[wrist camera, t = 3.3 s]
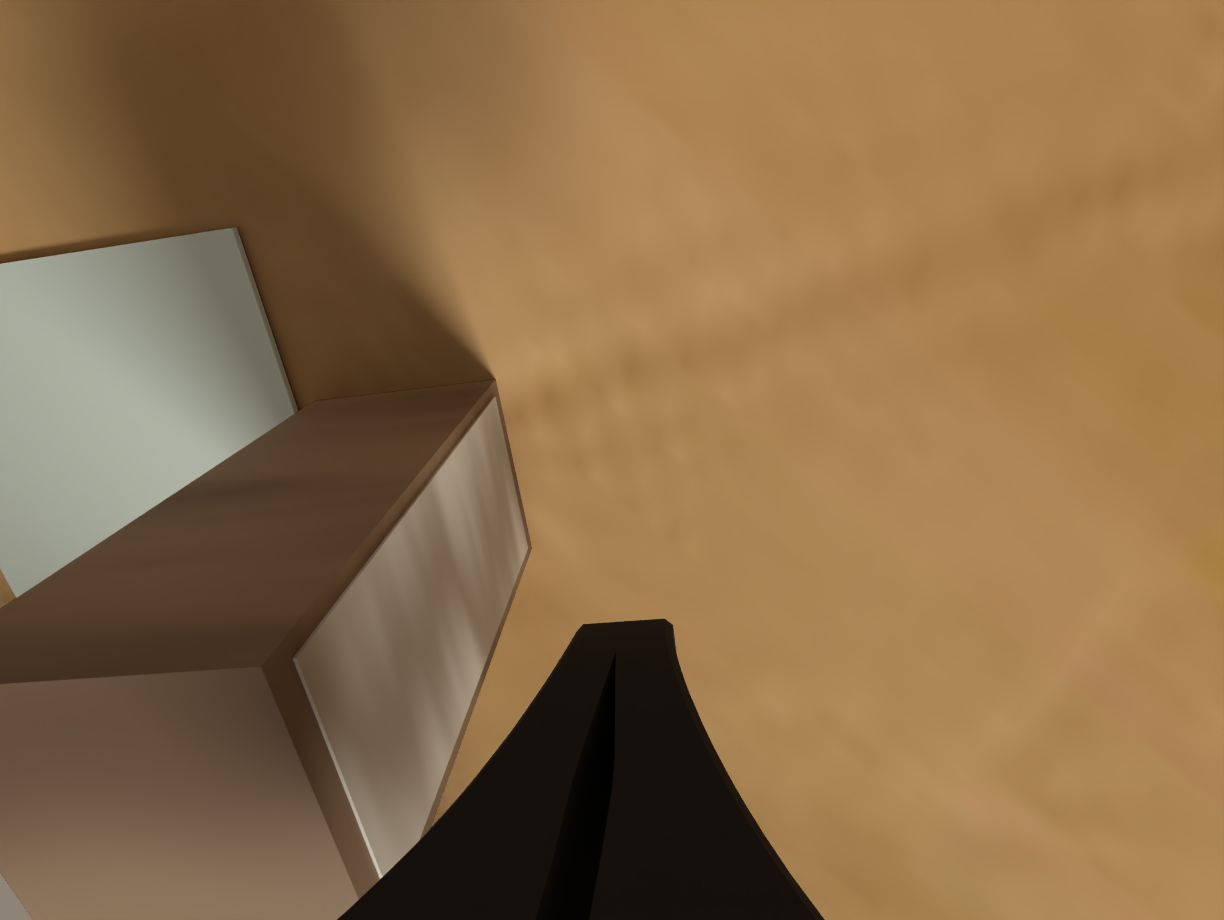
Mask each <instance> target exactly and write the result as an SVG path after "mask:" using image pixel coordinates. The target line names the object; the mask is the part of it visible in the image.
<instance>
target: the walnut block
mask: <svg viewBox="0 0 1224 920" xmlns="http://www.w3.org/2000/svg"><path fill="white" fill-rule="evenodd" d="M531 549H532V547H531V542H530V537H529V533H528V528H527V523H526V519H525V514H524V510H523V505H522V500H521V496H520V491H519V486H518V482H517V477H516V472H515V468H514V463H513V458H512V454H511V449H510V444H509V440H508V435H507V431H506V426H505V421H504V417H503V412H502V407H501V403H500V398H499V393H498V389H497V384H496V379H495V380H486V381H478V382H470V383H461V384H453V385H444V386H436V387H428V388H419V389H411V390H402V391H394V392H386V393H377V394H369V395H360V396H352V397H344V398H335V399H327V400H318V401H313V402H312V403H310V404H309V405H307V406H306V407H304V408H303V409H301V410H299V411H298V412H296V413H295V414H293V415H292V416H290V417H289V418H287V419H286V420H284V421H283V422H281V423H280V424H278V425H277V426H275V427H274V428H272V429H271V430H269V431H268V432H266V433H265V434H263V435H262V436H260V437H259V438H257V439H256V440H254V441H253V442H251V443H250V444H248V445H247V446H245V447H244V448H242V449H241V450H239V451H238V452H236V453H235V454H233V455H232V456H230V457H229V458H227V459H225V460H224V461H222V462H221V463H219V464H218V465H216V466H215V467H213V468H212V469H210V470H209V471H207V472H206V473H204V474H203V475H201V476H200V477H198V478H197V479H195V480H194V481H192V482H191V483H189V484H188V485H186V486H185V487H183V488H182V489H180V490H179V491H177V492H176V493H174V494H173V495H171V496H170V497H168V498H167V499H165V500H164V501H162V502H161V503H159V504H158V505H156V506H154V507H153V508H151V509H150V510H148V511H147V512H145V513H144V514H142V515H141V516H139V517H138V518H136V519H135V520H133V521H132V522H130V523H129V524H127V525H126V526H124V527H123V528H121V529H120V530H118V531H117V532H115V533H114V534H112V535H111V536H109V537H108V538H106V539H105V540H103V541H102V542H100V543H99V544H97V545H96V546H94V547H93V548H91V549H90V550H88V551H87V552H85V553H84V554H82V555H80V556H79V557H77V558H76V559H74V560H73V561H71V562H70V563H68V564H67V565H65V566H64V567H62V568H61V569H59V570H58V571H56V572H55V573H53V574H52V575H50V576H49V577H47V578H46V579H44V580H43V581H41V582H40V583H38V584H37V585H35V586H34V587H32V588H31V589H29V590H28V591H26V592H25V593H23V594H22V595H20V596H19V597H17V598H16V599H14V600H13V601H11V602H9V603H8V604H6V605H5V606H3V607H2V608H0V874H1V875H2V877H3V878H4V879H5V881H6V882H7V884H8V885H9V887H10V888H11V889H12V890H13V892H14V893H15V895H16V896H17V898H18V899H19V901H20V902H21V904H22V905H23V906H24V908H25V909H26V911H27V912H28V913H29V915H30V916H31V918H32V919H33V920H337V919H338V918H339V917H340V916H341V915H343V914H344V913H345V912H346V911H347V910H348V909H349V908H350V907H352V906H353V905H354V904H355V903H356V902H357V901H358V900H359V899H360V898H361V897H362V896H363V895H364V894H365V893H366V892H367V891H368V890H369V889H370V888H372V887H373V886H374V885H375V884H376V883H377V882H378V881H379V880H380V879H381V878H382V877H383V876H384V875H385V874H386V873H387V872H388V871H389V870H390V869H391V868H392V867H393V866H394V865H395V864H396V863H397V862H398V861H399V860H400V859H401V858H402V857H403V856H404V855H405V854H406V853H407V852H408V851H409V850H410V849H411V848H412V847H413V846H414V845H415V844H416V843H417V842H418V841H419V840H420V839H421V838H422V837H423V836H424V835H425V834H426V833H427V832H428V831H429V830H430V828H431V825H432V822H433V819H434V817H435V814H436V811H437V808H438V806H439V803H440V800H441V797H442V795H443V792H444V789H445V786H446V783H447V781H448V778H449V775H450V772H451V770H452V767H453V764H454V761H455V759H456V756H457V753H458V750H459V748H460V745H461V742H462V739H463V737H464V734H465V731H466V728H467V726H468V723H469V720H470V717H471V715H472V712H473V709H474V706H475V704H476V701H477V698H478V695H479V692H480V690H481V687H482V684H483V681H484V679H485V676H486V673H487V670H488V668H489V665H490V662H491V659H492V657H493V654H494V651H495V648H496V646H497V643H498V640H499V637H500V635H501V632H502V629H503V626H504V624H505V621H506V618H507V615H508V613H509V610H510V607H511V604H512V601H513V599H514V596H515V593H516V590H517V588H518V585H519V582H520V579H521V577H522V574H523V571H524V568H525V566H526V563H527V560H528V557H529V555H530V552H531Z"/></svg>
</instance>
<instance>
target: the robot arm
mask: <svg viewBox="0 0 1224 920" xmlns="http://www.w3.org/2000/svg"><path fill="white" fill-rule="evenodd" d="M337 920H824V918H823V917H822V916H821V914H820V913H819V912H818V910H817V909H816V908H815V906H814V905H813V904H812V902H811V901H810V900H809V898H808V897H807V896H806V894H805V893H804V892H803V890H802V889H801V888H800V886H799V885H798V883H797V882H796V881H795V879H794V878H793V877H792V875H791V874H790V873H789V871H788V870H787V868H786V867H785V865H784V864H783V862H782V861H781V859H780V858H779V856H778V855H777V853H776V852H775V850H774V849H773V847H772V846H771V844H770V843H769V841H768V840H767V838H766V837H765V835H764V834H763V832H762V831H761V829H760V827H759V826H758V824H757V822H756V821H755V819H754V818H753V816H752V814H751V813H750V811H749V810H748V808H747V806H746V805H745V803H744V801H743V800H742V798H741V796H740V795H739V793H738V791H737V789H736V788H735V786H734V784H733V782H732V780H731V779H730V777H729V775H728V773H727V771H726V770H725V768H724V766H723V764H722V762H721V760H720V758H719V756H718V754H717V752H716V750H715V749H714V747H713V745H712V743H711V741H710V738H709V736H708V734H707V732H706V730H705V728H704V726H703V724H702V721H701V719H700V717H699V714H698V712H697V710H696V707H695V705H694V703H693V700H692V698H691V696H690V693H689V691H688V688H687V686H686V683H685V680H684V677H683V674H682V671H681V668H680V665H679V662H678V658H677V654H676V646H675V638H674V630H673V625H672V624H671V623H669V622H668V621H667V620H666V619H653V620H639V621H624V622H610V623H595V624H583V625H582V626H581V627H580V629H579V630H578V631H577V632H576V634H575V635H574V637H573V639H572V641H571V642H570V644H569V645H568V647H567V649H566V650H565V652H564V654H563V655H562V657H561V659H560V660H559V662H558V663H557V665H556V667H555V668H554V670H553V671H552V673H551V674H550V676H549V677H548V679H547V680H546V682H545V684H544V685H543V687H542V688H541V690H540V691H539V693H538V694H537V695H536V697H535V698H534V700H533V701H532V703H531V704H530V705H529V707H528V708H527V710H526V711H525V713H524V714H523V716H522V717H521V718H520V720H519V721H518V723H517V724H516V726H515V727H514V728H513V730H512V731H511V732H510V734H509V735H508V736H507V738H506V739H505V740H504V741H503V743H502V744H501V745H500V747H499V748H498V749H497V750H496V752H495V753H494V754H493V756H492V757H491V758H490V759H489V761H488V762H487V763H486V765H485V766H484V767H483V768H482V770H481V771H480V772H479V773H478V775H477V776H476V777H475V778H474V780H473V781H472V782H471V783H470V784H469V786H468V787H467V788H466V789H465V790H464V792H463V793H462V794H461V795H460V796H459V797H458V799H457V800H456V801H455V802H454V803H453V804H452V805H451V807H450V808H449V809H448V810H447V811H446V812H445V813H444V814H443V815H442V817H441V818H440V819H439V820H438V821H437V822H436V823H435V824H434V825H433V826H432V827H431V828H430V830H429V831H428V832H427V833H426V834H425V835H424V836H423V837H422V838H421V839H420V840H419V841H418V842H417V843H416V844H415V845H414V846H413V847H412V848H411V849H410V850H409V851H408V852H407V853H406V854H405V855H404V856H403V857H402V858H401V859H400V860H399V861H398V862H397V863H396V864H395V865H394V866H393V867H392V868H391V869H390V870H389V871H388V872H387V873H386V874H385V875H384V876H383V877H382V878H381V879H380V880H379V881H378V882H377V883H376V884H375V885H374V886H373V887H372V888H370V889H369V890H368V891H367V892H366V893H365V894H364V895H363V896H362V897H361V898H360V899H359V900H358V901H357V902H356V903H355V904H354V905H353V906H352V907H350V908H349V909H348V910H347V911H346V912H345V913H344V914H343V915H341V916H340V917H339V918H338V919H337Z"/></svg>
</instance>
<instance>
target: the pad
mask: <svg viewBox="0 0 1224 920" xmlns="http://www.w3.org/2000/svg"><path fill="white" fill-rule="evenodd" d="M296 412H298V409H297V406H296V403H295V400H294V397H293V394H292V391H291V388H290V385H289V382H288V379H287V376H286V373H285V370H284V367H283V364H282V361H281V358H280V355H279V352H278V349H277V346H276V343H275V340H274V337H273V334H272V331H271V328H270V325H269V322H268V319H267V316H266V313H265V310H264V307H263V304H262V301H261V298H260V295H259V292H258V289H257V286H256V283H255V280H254V277H253V274H252V271H251V268H250V265H249V262H248V259H247V256H246V253H245V250H244V247H243V244H242V241H241V238H240V235H239V232H238V230H237V227H234V228H227V229H221V230H214V231H208V232H202V233H195V234H189V235H182V236H176V237H169V238H163V239H157V240H150V241H144V242H137V243H131V244H125V245H118V246H112V247H105V248H99V249H92V250H86V251H80V252H73V253H67V254H60V255H54V256H47V257H41V258H35V259H28V260H22V261H15V262H9V263H2V264H0V570H1V571H2V573H3V575H4V577H5V578H6V580H7V582H8V584H9V586H10V587H11V589H12V591H13V593H14V594H15V596H16V598H17V597H19V596H20V595H22V594H23V593H25V592H26V591H28V590H29V589H31V588H32V587H34V586H35V585H37V584H38V583H40V582H41V581H43V580H44V579H46V578H47V577H49V576H50V575H52V574H53V573H55V572H56V571H58V570H59V569H61V568H62V567H64V566H65V565H67V564H68V563H70V562H71V561H73V560H74V559H76V558H77V557H79V556H80V555H82V554H84V553H85V552H87V551H88V550H90V549H91V548H93V547H94V546H96V545H97V544H99V543H100V542H102V541H103V540H105V539H106V538H108V537H109V536H111V535H112V534H114V533H115V532H117V531H118V530H120V529H121V528H123V527H124V526H126V525H127V524H129V523H130V522H132V521H133V520H135V519H136V518H138V517H139V516H141V515H142V514H144V513H145V512H147V511H148V510H150V509H151V508H153V507H154V506H156V505H158V504H159V503H161V502H162V501H164V500H165V499H167V498H168V497H170V496H171V495H173V494H174V493H176V492H177V491H179V490H180V489H182V488H183V487H185V486H186V485H188V484H189V483H191V482H192V481H194V480H195V479H197V478H198V477H200V476H201V475H203V474H204V473H206V472H207V471H209V470H210V469H212V468H213V467H215V466H216V465H218V464H219V463H221V462H222V461H224V460H225V459H227V458H229V457H230V456H232V455H233V454H235V453H236V452H238V451H239V450H241V449H242V448H244V447H245V446H247V445H248V444H250V443H251V442H253V441H254V440H256V439H257V438H259V437H260V436H262V435H263V434H265V433H266V432H268V431H269V430H271V429H272V428H274V427H275V426H277V425H278V424H280V423H281V422H283V421H284V420H286V419H287V418H289V417H290V416H292V415H293V414H295V413H296Z"/></svg>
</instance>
